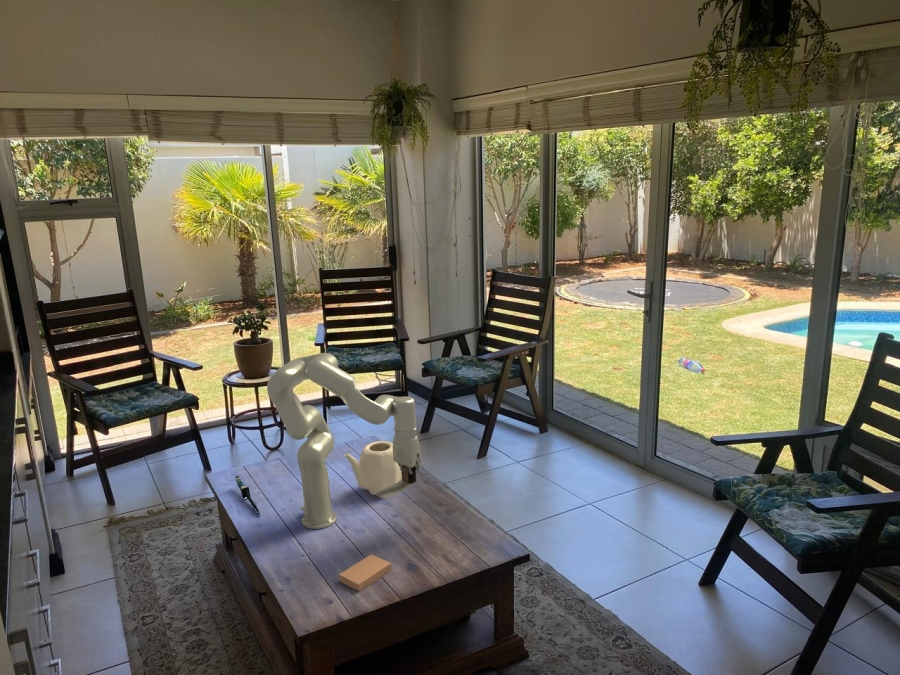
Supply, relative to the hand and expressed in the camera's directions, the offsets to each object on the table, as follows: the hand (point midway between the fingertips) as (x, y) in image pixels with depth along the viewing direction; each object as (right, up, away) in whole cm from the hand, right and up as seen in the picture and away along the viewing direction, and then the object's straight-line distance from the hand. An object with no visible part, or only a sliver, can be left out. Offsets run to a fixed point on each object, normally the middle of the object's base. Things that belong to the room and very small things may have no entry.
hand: (409, 481), depth 236 cm
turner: (-4, -2, -4) cm, 6 cm away
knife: (-65, -14, +28) cm, 72 cm away
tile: (-8, -22, -19) cm, 30 cm away
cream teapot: (-14, -11, +32) cm, 37 cm away
